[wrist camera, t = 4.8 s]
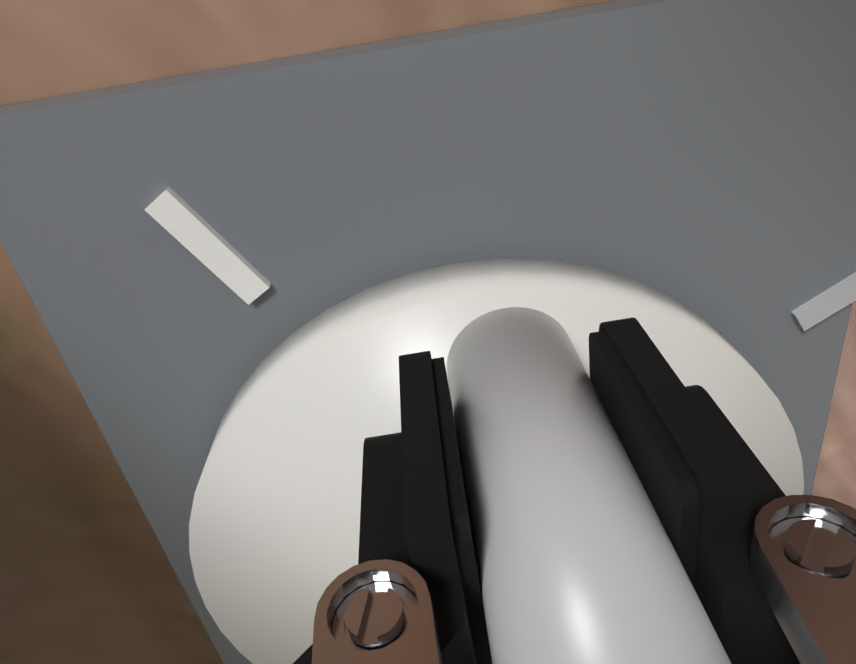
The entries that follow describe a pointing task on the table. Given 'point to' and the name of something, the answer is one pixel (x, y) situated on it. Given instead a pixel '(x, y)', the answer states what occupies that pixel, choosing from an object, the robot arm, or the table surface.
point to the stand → (436, 203)
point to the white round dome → (473, 463)
